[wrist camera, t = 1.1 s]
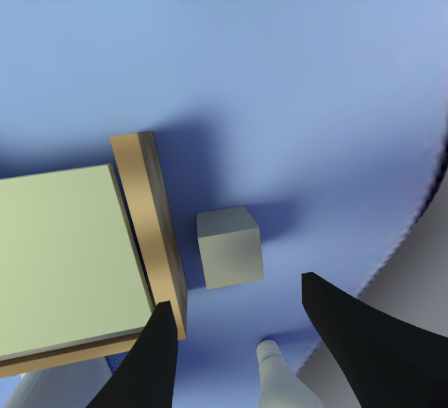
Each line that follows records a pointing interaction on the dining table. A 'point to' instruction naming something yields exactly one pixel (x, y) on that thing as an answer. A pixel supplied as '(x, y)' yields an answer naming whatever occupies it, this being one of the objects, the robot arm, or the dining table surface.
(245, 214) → the gray block
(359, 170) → the dining table surface
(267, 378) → the lightbulb
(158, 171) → the hatch frame
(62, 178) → the hatch
